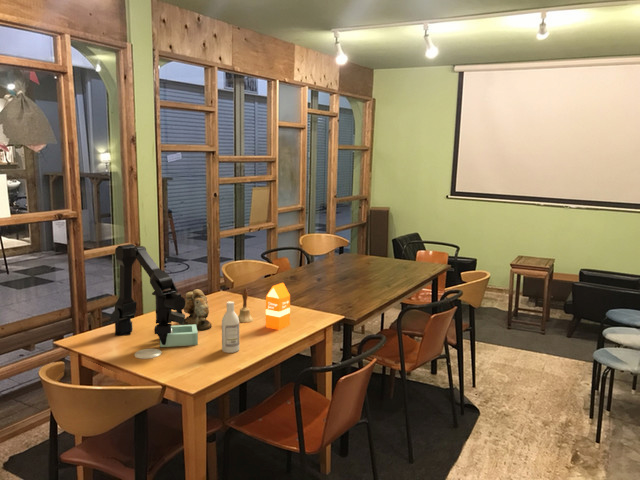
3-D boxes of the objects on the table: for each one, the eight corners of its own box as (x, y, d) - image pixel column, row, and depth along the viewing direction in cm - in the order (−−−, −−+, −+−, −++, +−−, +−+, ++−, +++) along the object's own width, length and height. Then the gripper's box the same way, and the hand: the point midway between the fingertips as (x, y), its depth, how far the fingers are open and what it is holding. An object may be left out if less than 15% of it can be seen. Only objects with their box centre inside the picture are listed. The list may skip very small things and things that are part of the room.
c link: (196, 335, 229) (196, 324, 228) (197, 344, 218) (197, 333, 217) (160, 337, 225) (159, 326, 224) (160, 347, 213) (159, 335, 213)
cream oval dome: (133, 359, 200) (133, 358, 200) (135, 350, 210) (135, 349, 210) (160, 357, 203) (160, 356, 203) (161, 348, 213) (161, 347, 212)
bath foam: (242, 350, 213) (242, 302, 210) (229, 354, 208) (228, 305, 205) (232, 345, 217) (232, 299, 214) (218, 350, 212) (218, 302, 209)
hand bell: (256, 318, 255) (256, 286, 253) (249, 323, 247) (249, 290, 245) (240, 316, 257) (240, 285, 255) (233, 321, 250) (232, 288, 247)
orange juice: (290, 325, 246) (290, 283, 243) (279, 330, 239) (279, 287, 236) (276, 322, 250) (276, 281, 247) (265, 327, 243) (265, 284, 240)
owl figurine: (173, 324, 244) (172, 288, 242) (194, 318, 253) (194, 284, 251) (196, 332, 233) (196, 295, 230) (218, 327, 241) (217, 290, 239)
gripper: (183, 312, 205) (184, 350, 208) (183, 299, 223) (184, 335, 226) (153, 313, 203) (154, 352, 205) (156, 301, 221) (157, 336, 223)
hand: (164, 343), depth 215 cm, fingers closed on c link, 2 cm apart
